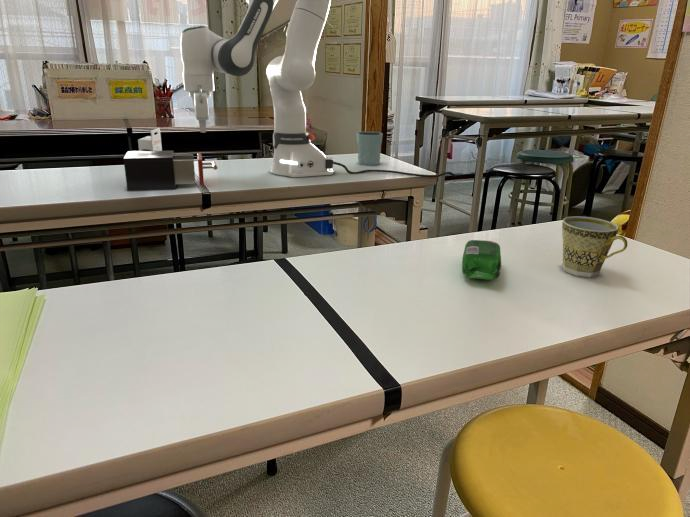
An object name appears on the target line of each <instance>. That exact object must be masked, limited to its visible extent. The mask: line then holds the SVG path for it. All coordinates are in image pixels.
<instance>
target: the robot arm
mask: <svg viewBox="0 0 690 517" xmlns="http://www.w3.org/2000/svg"><path fill="white" fill-rule="evenodd" d="M331 1H332V0H296V2H295V5H294V8H293V10H292V14H291V16H290V19H289V23H288V25H287V28H286V32H285V36H286V39H285V40H286V41H285V49H284V53H283V55H279V56H276V57H275V58H273V59H272V60H271V61H269V63H268V64H267V67H266V69H265V70H266V71H265V75H266V78H267V81H268V84H269V90H270V94H271V100H272V105H273V107H272V108H273V125H274V126H273V128H274V129H273V132H272V147H273V157H272V163H271V167H270V173H271V174H274V175H277V176H286V177H290V178H305V177H317V176H318V177H319V176H320V177H321V176H331V175H333V174H334V169H333V168H334V165H336V166H338V167H342V168H344V170H345V171H346V173H347V174H349V175H357V174H358V175H359V174H364V173H387V174H398V175H403V176H404V175H405V176H411V177H418V178H419V177H421V178H439V177H443V176H445V175H450V176H452V177H455V178H456V174H454V173H453V172H451V171H444V172H442V173H439V174H420V173H411V172H404V171H399V170H398V171H397V170H388V169H363V170H359V171H352V170H349V169H348V167H347V166H346V165H345V164H343V163H341V162H337V161H334V157H331V156H330V157H329V156H328V157H327V156H326V154H325V153H324V152H323V151H321V150H320V149H319V148H318V147H317V146H316V145H314V144H313V143H312V142H313V141H315V139H316V137H315V135H314V134H311V133H309V132H308V131H307V109H306V106H305V103H304V101H303V100H304V99H303V95H302V92H303V91H305V90H307V89H309V88H311V87H312V86H313V84H314V82H315V80H316V70H315V63H316V56H317V49H318V45H319V42H320V40H321V37H322V33H323V30H324V27H325V25H326V22H327V19H328V15H329V11H330V7H331ZM245 2H246V3H247V6H248V7H247V11H246V13H245V15H244V17H243V19H242V21H241V24H240V25H239V28H238V30H237V32H236V33H235V35H233V36H232V37H230V38H229V39H227V38H225V37H223V36H220V35H218V34H216V33H215V32H213V31H212V30H210V29H209V28H208V27H207V26H205V25H199V26H192V27H191V26H190V27H186V28H184V29H183V30H182V31H181V34H180V54H181V55H180V58H181V62H182V65H183V70H182V78H183V79H182V80H183V90H184V92H188V96H189V97H190V98H191V100H192V106H193V109H194V114H195V118H196V119H195V120H197V121H198V125H199V132H200V133H203V134H205V133H207V121H208V120H209V118H210V113H209V112H210V111H209V98H211V97H212V94H211V92H215V90H216V89H215V88H216V87H215V77H214V76H215V75H214V72H218V73H222V74H225V75H226V74H227V75H231V76H234V77H243V76H245V75H247V74H249V72H250V71H251V70H252V69H253V68H254V65H255V61H256V52H257V47H258V44H259V42H260V40H261V38H262V35H263V33H264V31H265V29H266V26H267V25H268V22H269V20H270V18H271V15H272V13H273V11H274V8H275V6H276V5H277V3H278V2H279V0H245Z"/></svg>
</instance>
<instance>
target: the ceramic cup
mask: <svg viewBox="0 0 690 517" xmlns="http://www.w3.org/2000/svg"><path fill="white" fill-rule="evenodd" d="M561 226H562V227H561V229H562V230H561V232H562V233H561V235H562V268H563V271H564V272H565V273H568V274H570V275H573V276H575V277H581V278H594V277H598V276H599V275H600V272H601V270H602V268H603V266H604V263H605V261H606V260H607V259H609V258H611V257H613V256H614V255H617V254H620V253H623V252H624V251H625V250H626V249H627V247H628V240H627V238H626V237H625V236H623V235H617V234H618V232H619V230H620V228H619V225H617V224H616V223H614V222H612V221H609V220H606V219H601V218H598V217H590V216H582V215H581V216H578V215H577V216H573V215H572V216H567V217H564V218H562V225H561ZM616 240H620V241H622V242H623V248H622V249H620V250H617V251H614V252H612V253H610V254H609V252H610V250H611V248H612V246H613V244H614V241H616Z"/></svg>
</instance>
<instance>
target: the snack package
mask: <svg viewBox="0 0 690 517" xmlns="http://www.w3.org/2000/svg"><path fill="white" fill-rule="evenodd" d="M501 268H502V255H501V246H500V244H499V243H497V242H495V241H492V240H481V239H470V240H468V241H466V243H465V246H464V250H463V254H462V263H461V272H462V274H463V276H464V277H465V278H467V279H478V280H486V281H489V280H494V279H498V278H499V277H500V276H501V272H500V271H501Z"/></svg>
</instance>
